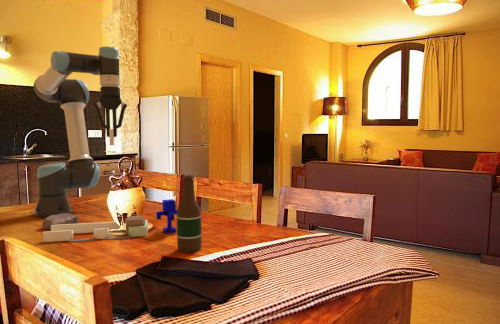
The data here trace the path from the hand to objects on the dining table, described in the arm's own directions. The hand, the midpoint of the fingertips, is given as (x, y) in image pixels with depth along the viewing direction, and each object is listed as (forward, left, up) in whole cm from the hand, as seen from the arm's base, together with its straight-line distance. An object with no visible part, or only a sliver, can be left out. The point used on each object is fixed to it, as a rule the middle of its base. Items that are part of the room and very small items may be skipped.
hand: (112, 145), depth 164 cm
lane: (+18, -4, -32) cm, 37 cm away
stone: (0, -21, -33) cm, 39 cm away
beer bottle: (+43, +28, -33) cm, 61 cm away
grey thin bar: (+24, -2, -32) cm, 41 cm away
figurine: (+19, +22, -33) cm, 44 cm away
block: (+18, +9, -33) cm, 39 cm away
